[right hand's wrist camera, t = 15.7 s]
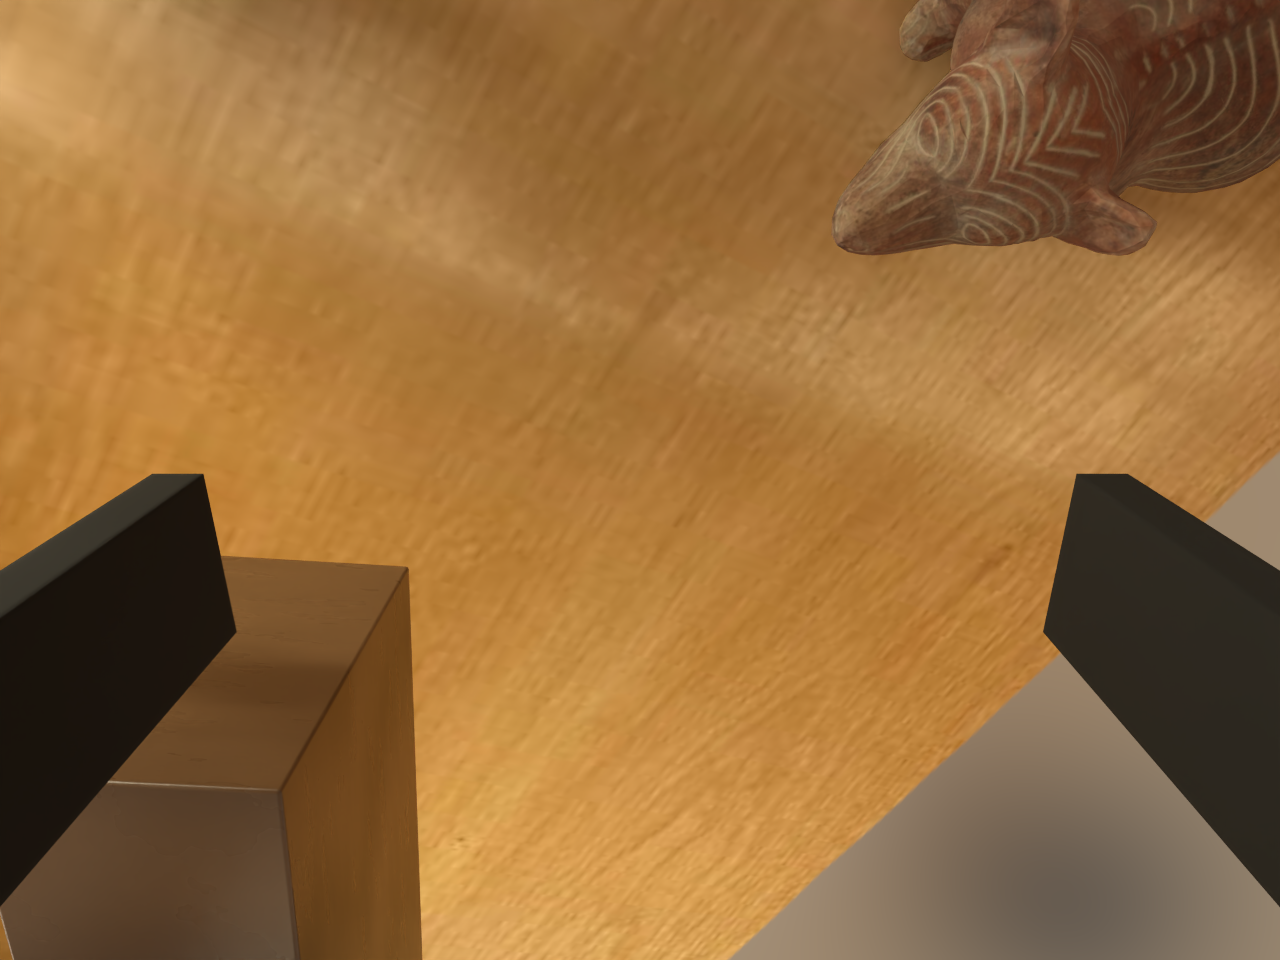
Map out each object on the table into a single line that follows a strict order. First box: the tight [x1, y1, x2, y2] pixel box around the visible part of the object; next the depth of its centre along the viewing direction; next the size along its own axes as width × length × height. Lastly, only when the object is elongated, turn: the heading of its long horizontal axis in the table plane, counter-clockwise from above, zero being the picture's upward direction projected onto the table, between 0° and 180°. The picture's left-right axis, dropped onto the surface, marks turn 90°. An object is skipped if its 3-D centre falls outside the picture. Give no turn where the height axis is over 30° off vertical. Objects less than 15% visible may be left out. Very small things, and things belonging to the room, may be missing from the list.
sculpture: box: [832, 0, 1280, 255], centre depth 30 cm, size 14×25×15 cm, turn 123°
